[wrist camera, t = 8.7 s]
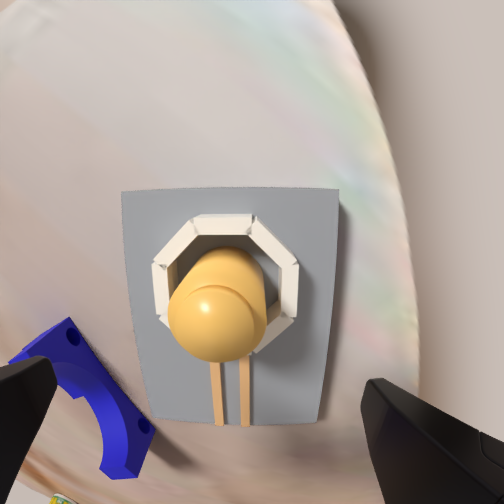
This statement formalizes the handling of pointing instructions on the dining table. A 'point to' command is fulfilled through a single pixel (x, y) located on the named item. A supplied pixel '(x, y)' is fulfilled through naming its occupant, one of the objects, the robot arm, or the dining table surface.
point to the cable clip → (96, 397)
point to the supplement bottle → (61, 499)
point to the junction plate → (276, 298)
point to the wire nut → (220, 306)
